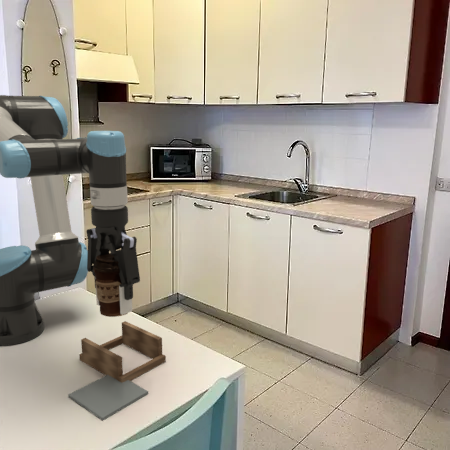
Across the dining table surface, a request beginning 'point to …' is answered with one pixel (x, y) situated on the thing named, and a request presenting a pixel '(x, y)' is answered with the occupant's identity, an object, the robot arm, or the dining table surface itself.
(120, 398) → the coaster
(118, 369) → the rack
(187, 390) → the dining table surface
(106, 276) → the coffee cup
